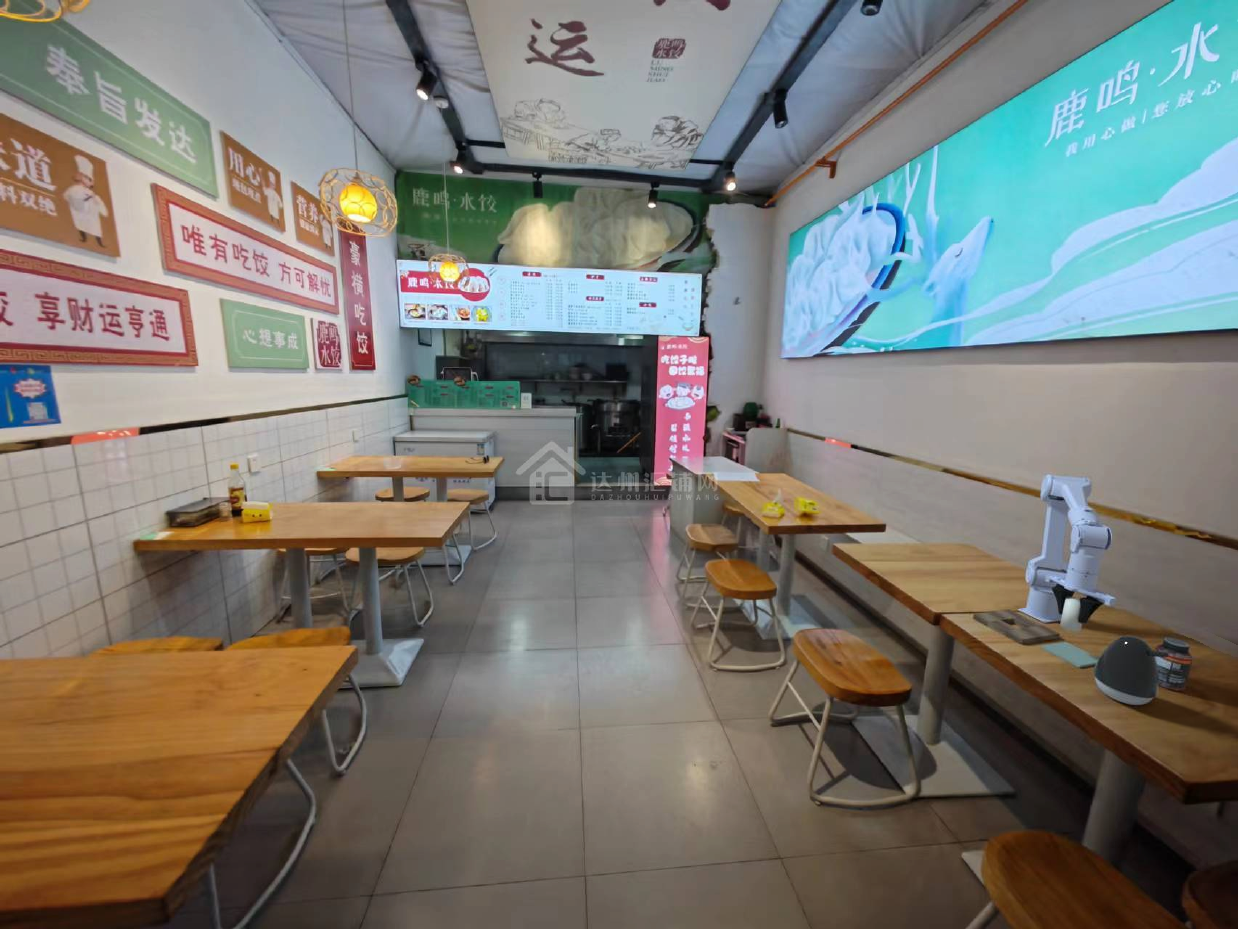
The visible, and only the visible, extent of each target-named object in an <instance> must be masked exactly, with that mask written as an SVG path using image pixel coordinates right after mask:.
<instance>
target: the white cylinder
mask: <svg viewBox="0 0 1238 929" xmlns="http://www.w3.org/2000/svg"><path fill="white" fill-rule="evenodd" d="M1079 599H1080V597H1077V596H1076V597H1075V596H1072V597H1066V599H1065V604H1064V609H1063V613H1062V618H1061V621H1060V624H1059V626H1060V627H1061V628H1062V629H1064V630H1066V631H1070V632H1072V633H1073V632H1075V633H1080V632H1081V631H1082V626H1083V623H1082V624H1081V623H1079V622H1078V618H1079V614H1080V600H1079Z"/></svg>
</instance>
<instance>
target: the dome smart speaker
mask: <svg viewBox="0 0 1238 929" xmlns="http://www.w3.org/2000/svg"><path fill="white" fill-rule="evenodd" d="M1168 656H1169V655H1168V653H1167V652H1162V651H1155V649H1152V648H1151V647H1150V645H1149V643H1148V642H1147V641H1145V640H1143V639H1142V638H1140V637H1138V636H1135V635H1124V636H1123V635H1122V636H1120V637H1118V638H1116V639H1115V640H1113V641H1112V642H1111V643H1110V644H1109V645H1108V646H1107V647H1106V648H1105V649H1104V650H1103V651H1102V653H1101V655H1100V656H1099V657H1098V658H1099V659H1098V661H1097V663H1096V665H1094V669H1093V672H1092V673H1093V676H1094V679H1095V683H1096V685H1097V687H1098V688H1099V689H1100V691H1101V692H1102V693H1103V694H1105V695H1106V696H1108V697H1110V699H1113V700H1114V701H1116V702H1117V701H1118V702H1119V703H1123V704H1127V705H1132V706H1139V705H1140V706H1141V705H1147V704H1148V703H1150V702H1151V701H1152V700H1153V699H1154V698H1156V697H1157V695H1158V693H1159V687H1160V686H1159V672H1158V666H1157V662H1156V659H1155V657H1168Z"/></svg>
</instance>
